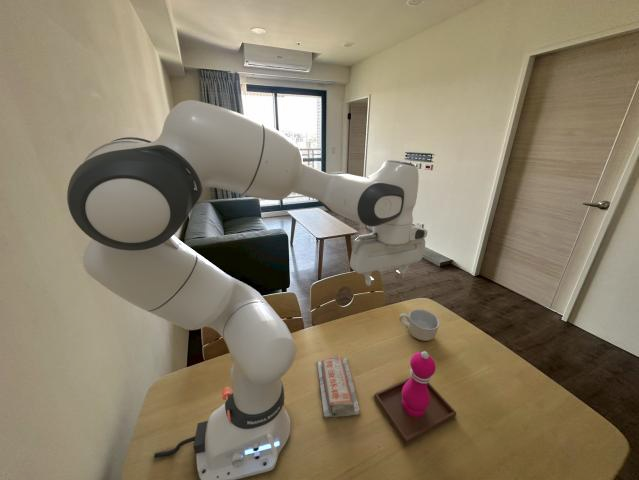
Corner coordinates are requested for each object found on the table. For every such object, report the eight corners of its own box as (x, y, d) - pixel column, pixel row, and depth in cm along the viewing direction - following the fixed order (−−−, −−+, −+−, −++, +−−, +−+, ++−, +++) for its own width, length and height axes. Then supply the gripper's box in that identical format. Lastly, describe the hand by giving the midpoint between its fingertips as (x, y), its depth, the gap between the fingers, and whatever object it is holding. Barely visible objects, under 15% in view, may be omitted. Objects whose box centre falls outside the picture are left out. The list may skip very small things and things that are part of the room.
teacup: (437, 331, 98) (441, 315, 95) (433, 350, 90) (437, 332, 87) (402, 318, 105) (404, 303, 102) (394, 334, 96) (397, 317, 93)
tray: (405, 445, 62) (406, 441, 61) (373, 398, 73) (374, 393, 72) (455, 417, 68) (456, 412, 67) (419, 377, 79) (420, 373, 78)
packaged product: (361, 403, 66) (324, 407, 65) (360, 415, 68) (324, 419, 67) (347, 350, 83) (317, 352, 82) (346, 361, 85) (317, 363, 84)
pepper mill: (422, 395, 73) (435, 342, 66) (430, 421, 67) (445, 366, 59) (397, 393, 74) (407, 340, 66) (402, 418, 67) (414, 363, 60)
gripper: (361, 241, 54) (356, 295, 59) (433, 230, 61) (423, 279, 67) (347, 231, 59) (343, 282, 64) (414, 222, 67) (406, 268, 72)
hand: (384, 280), depth 65 cm, fingers open, 8 cm apart
